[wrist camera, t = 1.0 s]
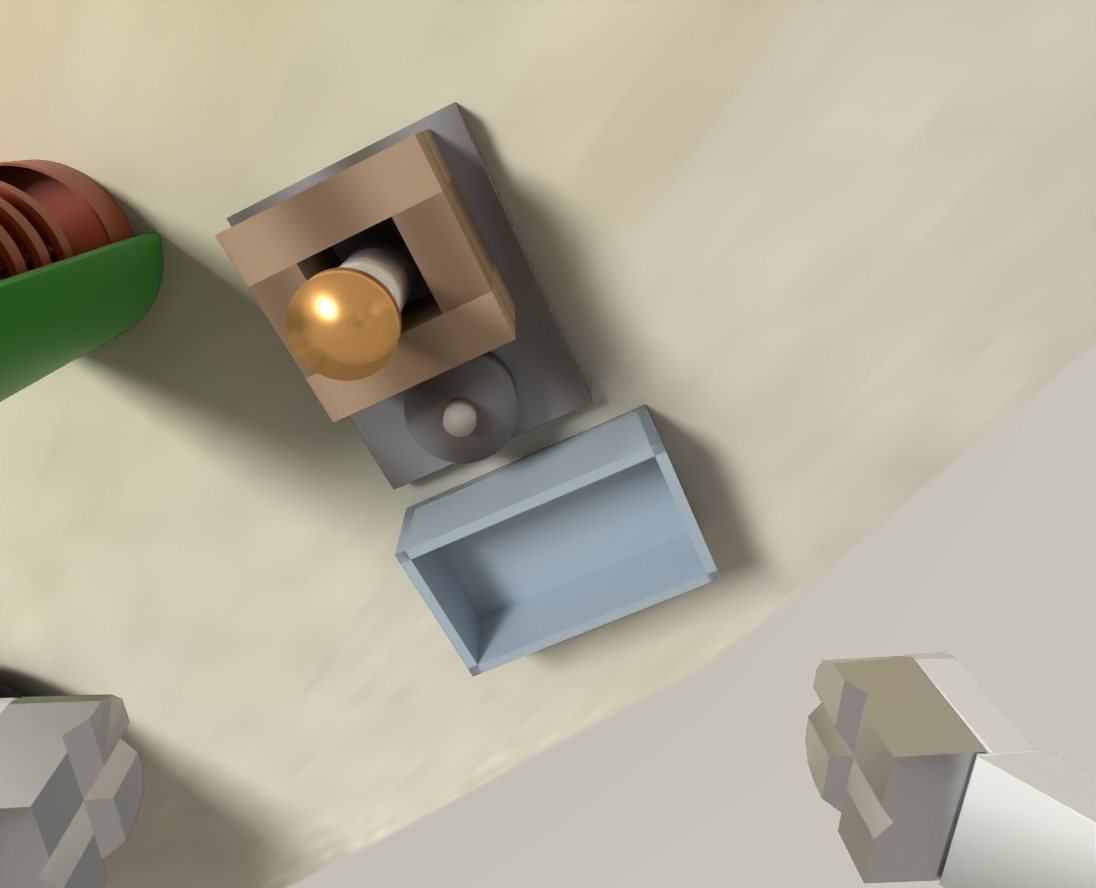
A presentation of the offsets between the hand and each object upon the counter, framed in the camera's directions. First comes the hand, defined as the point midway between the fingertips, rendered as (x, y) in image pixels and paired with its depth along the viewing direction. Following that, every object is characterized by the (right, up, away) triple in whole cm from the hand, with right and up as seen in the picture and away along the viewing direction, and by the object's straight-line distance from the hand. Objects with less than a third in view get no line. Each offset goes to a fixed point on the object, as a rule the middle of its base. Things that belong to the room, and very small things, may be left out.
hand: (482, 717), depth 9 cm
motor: (-23, +13, +29) cm, 39 cm away
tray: (+1, -1, +36) cm, 36 cm away
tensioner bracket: (-6, +10, +31) cm, 33 cm away
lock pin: (-7, +12, +28) cm, 31 cm away
